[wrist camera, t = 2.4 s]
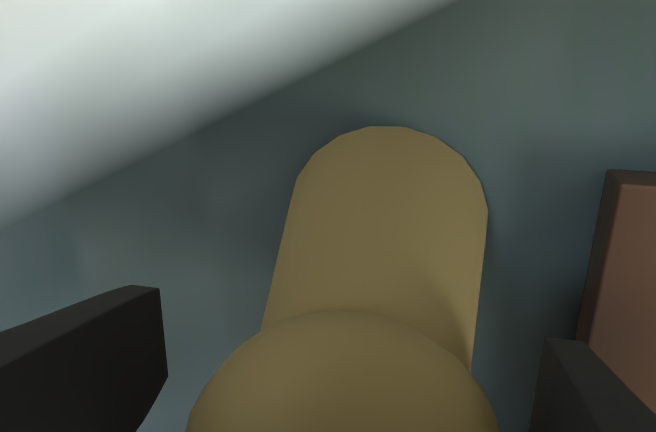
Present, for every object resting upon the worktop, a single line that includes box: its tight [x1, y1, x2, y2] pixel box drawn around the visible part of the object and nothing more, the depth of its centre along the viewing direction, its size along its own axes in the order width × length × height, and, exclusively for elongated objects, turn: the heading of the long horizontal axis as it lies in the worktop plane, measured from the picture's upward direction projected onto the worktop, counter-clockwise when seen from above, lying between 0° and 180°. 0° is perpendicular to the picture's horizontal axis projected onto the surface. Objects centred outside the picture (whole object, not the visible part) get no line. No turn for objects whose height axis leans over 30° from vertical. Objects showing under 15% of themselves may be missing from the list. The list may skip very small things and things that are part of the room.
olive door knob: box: [186, 126, 500, 432], centre depth 13 cm, size 6×6×11 cm
